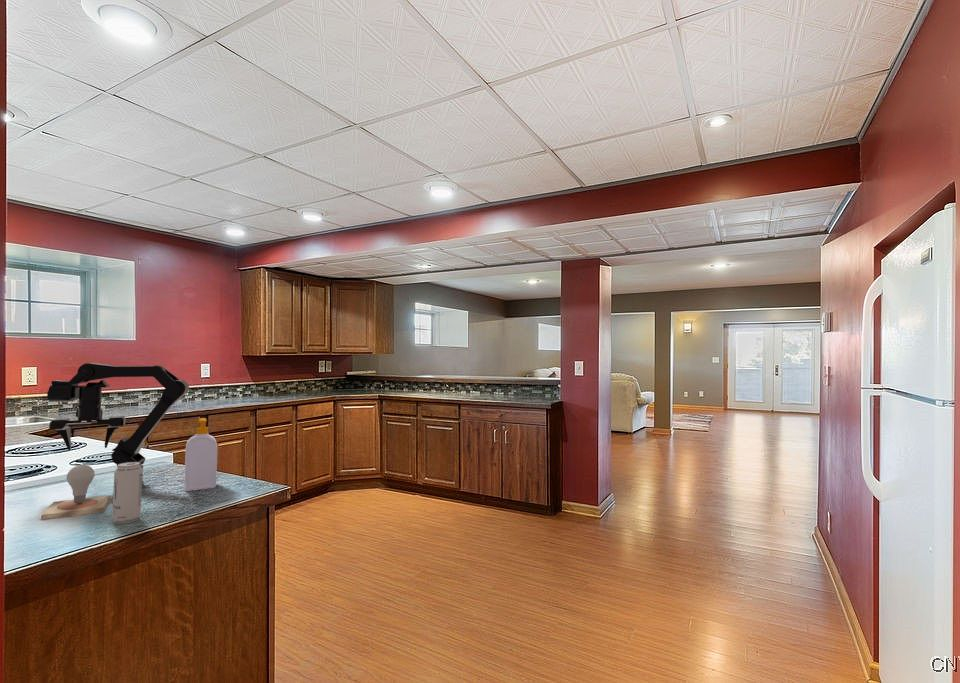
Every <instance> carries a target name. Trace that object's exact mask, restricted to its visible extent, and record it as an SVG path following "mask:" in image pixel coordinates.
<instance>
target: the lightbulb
mask: <svg viewBox="0 0 960 683" xmlns="http://www.w3.org/2000/svg"><path fill="white" fill-rule="evenodd" d="M94 477H95V470H94V469H93V468H92V466H90V465H87V464H79V465H76V466H74V467H72V468H71V469H70V470H68V472H67V474H66V481H67V483H68V485H69V486H70V489H71V491H72V496H73V500H74V503H77V504H81V503H82V502H84V501H85V499H86V498H87V497H86V496H87V494H88V490H89V486H90V485H91V483H92V481H93V480H94V479H95V478H94Z"/></svg>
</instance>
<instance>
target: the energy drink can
mask: <svg viewBox="0 0 960 683" xmlns="http://www.w3.org/2000/svg"><path fill="white" fill-rule="evenodd" d="M113 474H114V475H113V492H112V493H113V494H112V495H113V496H112V497H113V498H112V516H111V520H112V521H114V524H116V525H124V524H130V523H133V522H136V521H138V519H139V517H140V516H141V514H142V513H141V511H142V510H141V508H142V490H143V489H142V488H143V484H142V467H141V466H140V463H139V462H127V463H121V464H118V467H116V469H115V470H114V472H113Z"/></svg>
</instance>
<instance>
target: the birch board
mask: <svg viewBox="0 0 960 683" xmlns="http://www.w3.org/2000/svg"><path fill="white" fill-rule="evenodd" d="M110 501H111V495H104V496H94V497H86V499H85V501H84V502H82V503H81V504H77V503H74V499H68V500H59V501H53V502H52V503H51V504H50V505H49V506H47V508H46V509H45V510H44V511H43V512H42V514H41V515H40V520H47V519H48V518H49V519H56V518H65V517H64V516H66V517H72V515H74V516H80V515H79V514H82V515H89V514H98V513H104V510H105V509H106V507H107V506H108V504H109V503H110Z"/></svg>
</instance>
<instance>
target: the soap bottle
mask: <svg viewBox="0 0 960 683" xmlns="http://www.w3.org/2000/svg"><path fill="white" fill-rule="evenodd" d="M207 421H208V420H207V418H205V417H202V418H201V417H199V420H198V422H199V424H200V425H199V426H198V427H196V429H195V435H192V436H191V437H190V438H189V439H188V440H187V441H186V444H185V459H184V461H185V462H184V480H183V481H184V482H183V484H184V485H183V488H184V491H185V492H190V491H191V492H192V490H193V491H198V490H200V491H201V490H208V489H209V488H210V489H214V488H217V471H218V470H217V469H218V468H217V467H218V447H219V446H218V442H217V440H216V438H215V437H214V436H213V435H212V434H211V435H210V433H209V426H205V425H206V422H207Z"/></svg>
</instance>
